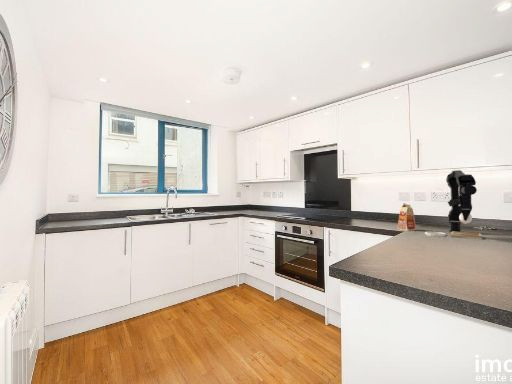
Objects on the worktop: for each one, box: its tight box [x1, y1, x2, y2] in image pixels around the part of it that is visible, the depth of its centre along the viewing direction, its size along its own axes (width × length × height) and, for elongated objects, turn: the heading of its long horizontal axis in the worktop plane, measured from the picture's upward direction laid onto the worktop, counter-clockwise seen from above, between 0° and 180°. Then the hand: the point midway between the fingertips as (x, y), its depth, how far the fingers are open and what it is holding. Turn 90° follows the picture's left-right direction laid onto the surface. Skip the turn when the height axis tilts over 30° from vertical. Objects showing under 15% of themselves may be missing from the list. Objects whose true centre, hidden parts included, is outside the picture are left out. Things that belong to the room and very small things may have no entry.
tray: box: [450, 231, 482, 240], centre depth 150 cm, size 12×14×2 cm
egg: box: [459, 213, 473, 225], centre depth 150 cm, size 6×6×8 cm
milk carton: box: [396, 202, 417, 231], centre depth 183 cm, size 9×9×20 cm
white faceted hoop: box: [424, 231, 446, 237], centre depth 157 cm, size 11×11×1 cm
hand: (465, 220), depth 150 cm, fingers closed on egg, 6 cm apart
